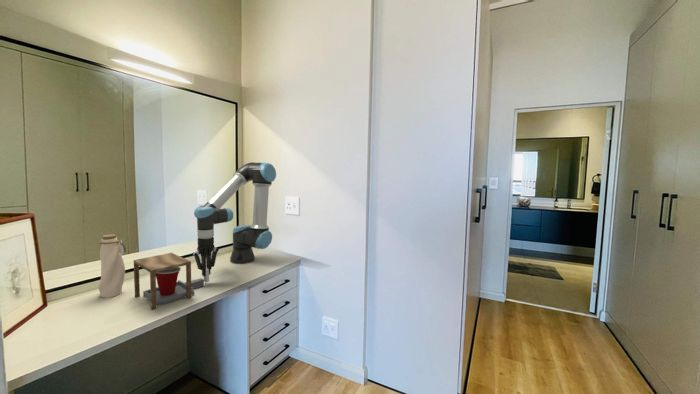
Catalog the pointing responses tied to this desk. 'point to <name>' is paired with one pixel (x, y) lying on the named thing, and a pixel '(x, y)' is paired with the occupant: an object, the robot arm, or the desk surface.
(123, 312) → the desk surface
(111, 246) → the water bottle
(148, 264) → the small wooden stool
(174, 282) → the plastic cup
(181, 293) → the tray
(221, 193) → the robot arm
